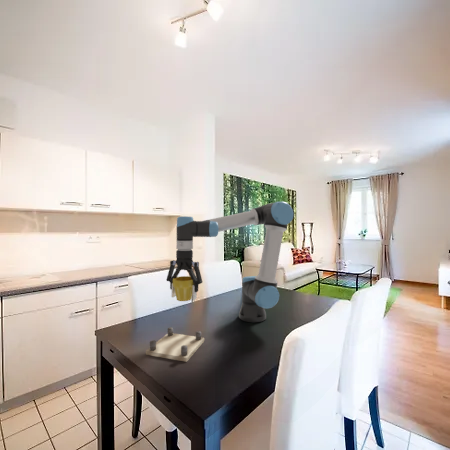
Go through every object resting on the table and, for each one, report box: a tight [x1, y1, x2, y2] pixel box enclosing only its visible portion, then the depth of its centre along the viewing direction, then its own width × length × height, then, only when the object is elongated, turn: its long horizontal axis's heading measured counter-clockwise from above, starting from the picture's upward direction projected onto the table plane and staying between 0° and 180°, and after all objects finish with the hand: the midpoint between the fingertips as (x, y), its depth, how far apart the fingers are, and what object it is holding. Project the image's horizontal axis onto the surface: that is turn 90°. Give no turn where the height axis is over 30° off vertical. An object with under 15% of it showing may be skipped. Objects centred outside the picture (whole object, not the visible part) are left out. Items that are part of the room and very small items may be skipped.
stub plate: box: [145, 326, 205, 362], centre depth 107 cm, size 18×18×4 cm
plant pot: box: [173, 275, 194, 302], centre depth 117 cm, size 10×10×10 cm
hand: (183, 297), depth 117 cm, fingers closed on plant pot, 10 cm apart
